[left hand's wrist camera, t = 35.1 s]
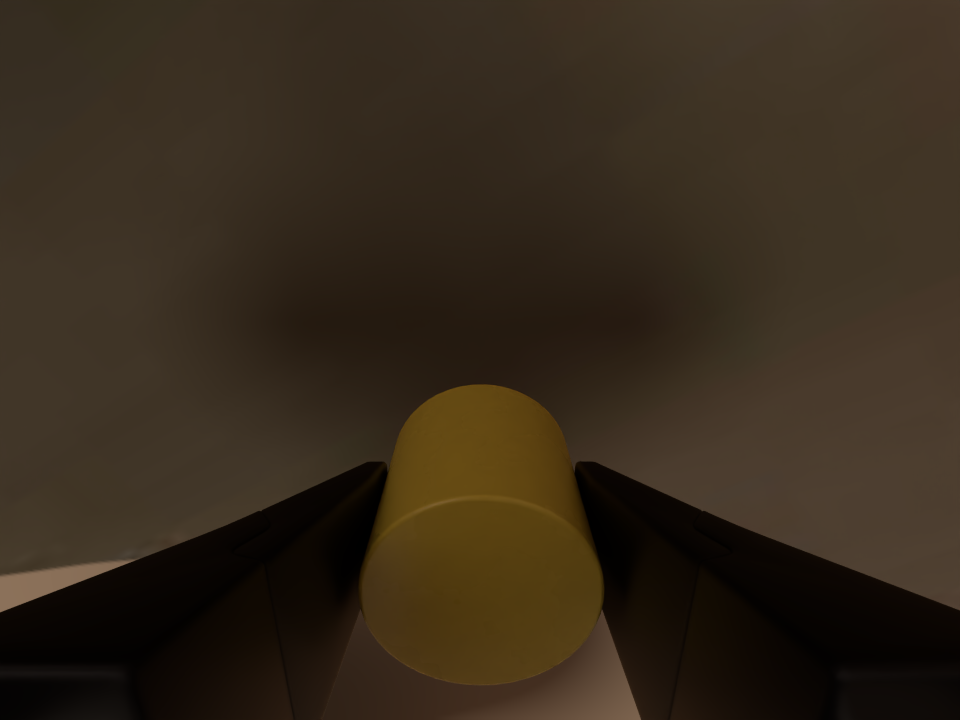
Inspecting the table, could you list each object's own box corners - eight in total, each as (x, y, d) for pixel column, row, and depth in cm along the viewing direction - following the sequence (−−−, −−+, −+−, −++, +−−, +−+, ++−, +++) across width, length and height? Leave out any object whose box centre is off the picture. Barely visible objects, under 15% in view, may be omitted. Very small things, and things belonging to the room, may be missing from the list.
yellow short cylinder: (518, 352, 12) (538, 455, 8) (594, 490, 13) (644, 637, 9) (361, 430, 12) (306, 561, 9) (448, 553, 14) (436, 715, 10)
